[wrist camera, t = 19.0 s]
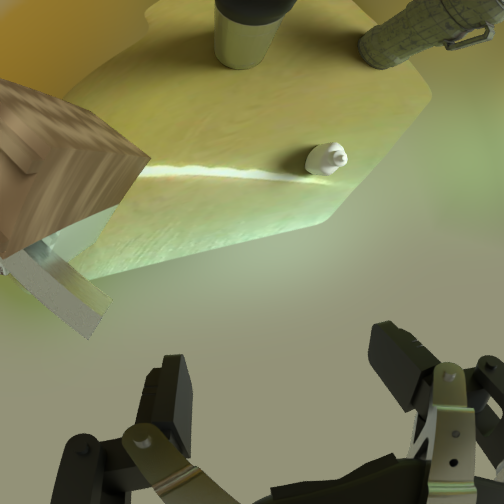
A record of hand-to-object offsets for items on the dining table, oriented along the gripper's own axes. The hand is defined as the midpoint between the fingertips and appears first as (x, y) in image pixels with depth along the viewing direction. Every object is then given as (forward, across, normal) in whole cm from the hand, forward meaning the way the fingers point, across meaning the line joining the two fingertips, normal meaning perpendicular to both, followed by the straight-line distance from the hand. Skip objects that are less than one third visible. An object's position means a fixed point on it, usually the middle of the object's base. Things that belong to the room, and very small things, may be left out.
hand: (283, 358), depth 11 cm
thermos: (+40, -32, -32) cm, 61 cm away
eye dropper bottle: (+40, -16, -8) cm, 44 cm away
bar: (+19, +26, -3) cm, 32 cm away
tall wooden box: (+40, +22, -13) cm, 48 cm away
